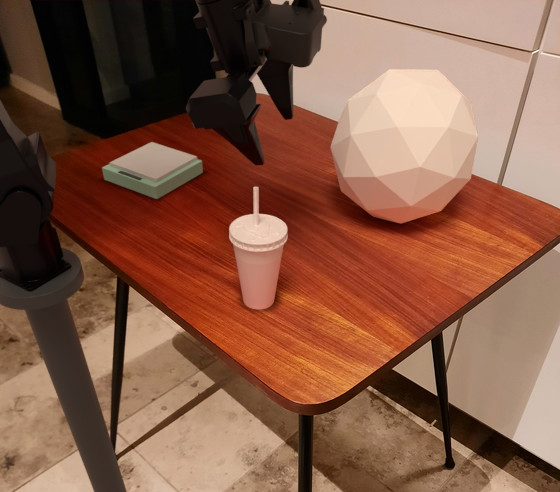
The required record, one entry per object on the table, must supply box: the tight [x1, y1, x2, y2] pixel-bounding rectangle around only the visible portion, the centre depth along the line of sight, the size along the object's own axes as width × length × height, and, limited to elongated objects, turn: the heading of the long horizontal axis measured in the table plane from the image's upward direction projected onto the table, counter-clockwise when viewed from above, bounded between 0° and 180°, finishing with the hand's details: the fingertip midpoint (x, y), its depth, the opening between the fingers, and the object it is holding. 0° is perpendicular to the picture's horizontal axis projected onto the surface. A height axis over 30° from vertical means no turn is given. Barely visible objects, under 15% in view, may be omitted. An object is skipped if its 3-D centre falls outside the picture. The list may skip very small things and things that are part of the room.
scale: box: [101, 141, 204, 200], centre depth 88 cm, size 11×11×3 cm
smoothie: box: [228, 186, 289, 311], centre depth 62 cm, size 6×6×14 cm
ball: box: [330, 68, 479, 224], centre depth 76 cm, size 19×20×20 cm
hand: (275, 140), depth 64 cm, fingers open, 9 cm apart
